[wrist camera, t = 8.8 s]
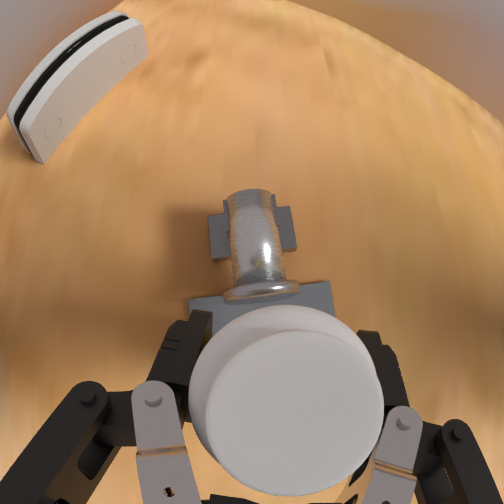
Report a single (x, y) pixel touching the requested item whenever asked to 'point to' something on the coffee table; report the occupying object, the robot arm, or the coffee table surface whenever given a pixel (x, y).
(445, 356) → the coffee table surface
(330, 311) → the plate
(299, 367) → the supplement bottle
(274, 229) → the shaft stub
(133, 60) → the grey rounded slab
